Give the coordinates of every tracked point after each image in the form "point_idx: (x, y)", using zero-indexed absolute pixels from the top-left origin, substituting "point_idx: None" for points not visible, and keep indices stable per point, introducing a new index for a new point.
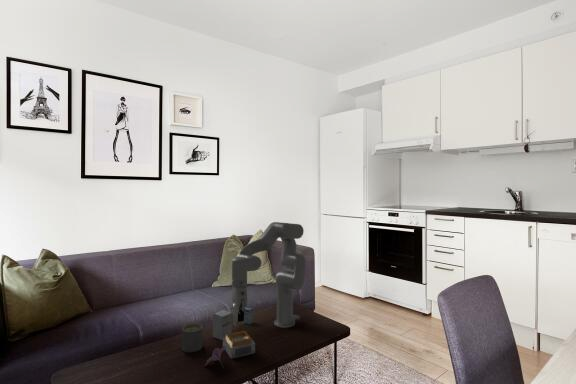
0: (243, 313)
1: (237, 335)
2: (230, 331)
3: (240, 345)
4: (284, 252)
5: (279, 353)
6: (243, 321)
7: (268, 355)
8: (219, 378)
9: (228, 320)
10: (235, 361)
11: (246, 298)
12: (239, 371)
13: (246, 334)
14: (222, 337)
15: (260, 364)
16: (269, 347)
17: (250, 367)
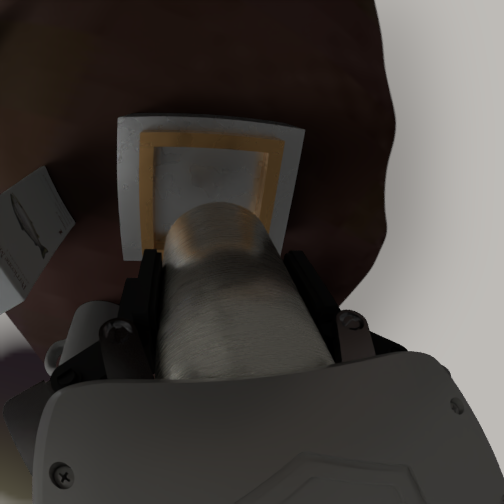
0: (332, 309)
1: (154, 185)
2: (37, 179)
3: (281, 213)
4: None
5: (350, 38)
6: (267, 234)
7: (338, 84)
8: (343, 296)
9: (11, 226)
10: (294, 227)
11: (489, 460)
12: (356, 239)
13: (205, 143)
14: (69, 223)
15: (371, 155)
16: (274, 33)
17: (363, 197)
